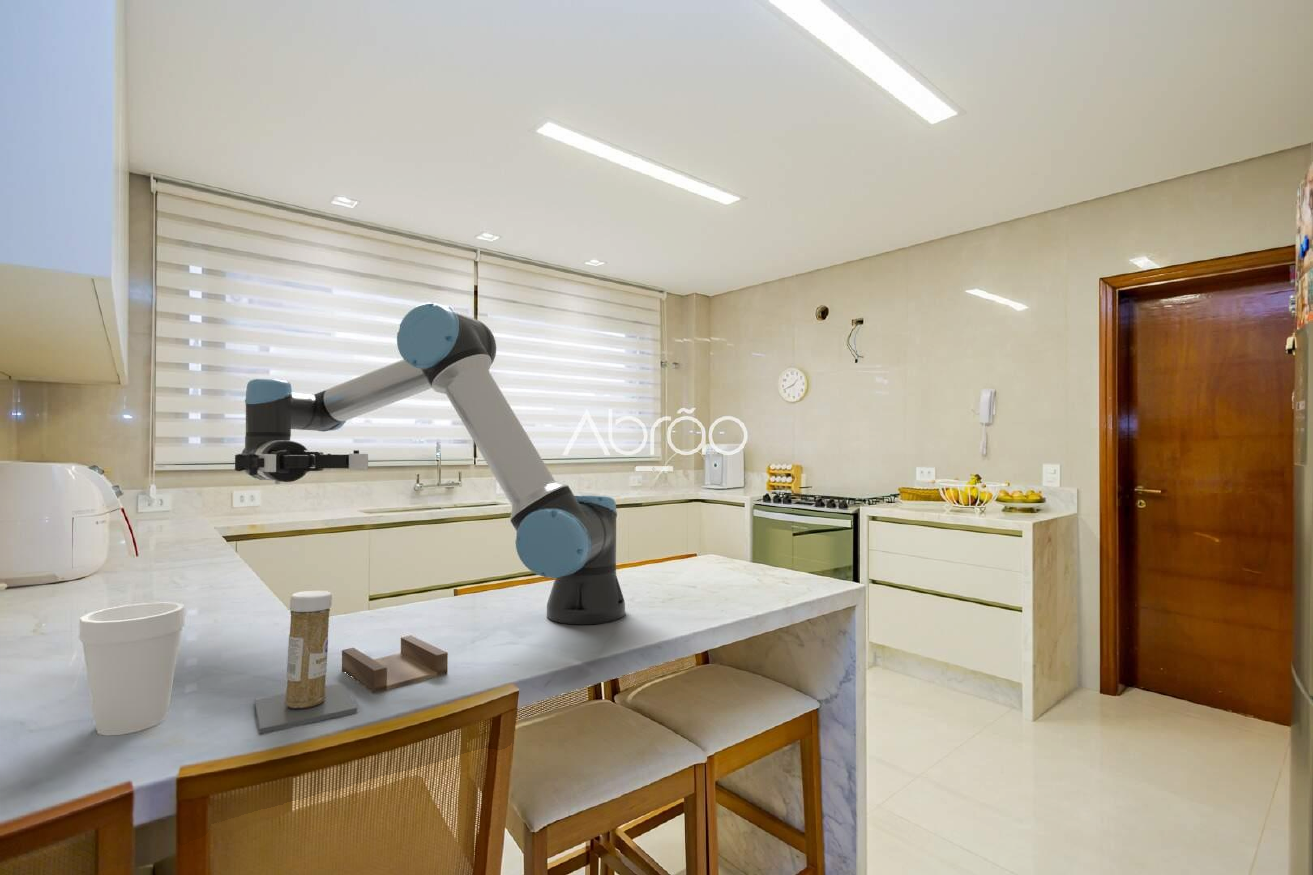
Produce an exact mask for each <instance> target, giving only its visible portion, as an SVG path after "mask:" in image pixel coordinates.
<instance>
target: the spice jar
mask: <svg viewBox="0 0 1313 875" xmlns="http://www.w3.org/2000/svg"><path fill="white" fill-rule="evenodd" d="M332 600H333V594H332V592H330V591H327V590H305V591H304V590H303V591H297V592H295V593H293V594H291V596H290V601H289V611H290V612H289V613H290V624H289V635H288V644H287V645H288V647H287V659H286V660H287V662H286V691H285V694H286V699H285V701H284V703H285V705H286V706H287V707H290V708H308V707H312V706H314V705H317V704H320V703H321V702H323V701H324V700H325V698H326V695H325V686H326V676H327V666H328V650H329V649H328V647H329V627H330V625H329V622H330V611H331V609H330V608H332V603H333V602H332Z"/></svg>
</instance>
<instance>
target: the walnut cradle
mask: <svg viewBox="0 0 1313 875" xmlns="http://www.w3.org/2000/svg"><path fill="white" fill-rule="evenodd" d="M448 656H449V654H448V652H447V651H444V650H442V649H441V648H438V647H437V646H436V645H432V644H431V643H428V642H426V641H424V640H422V639H419V638H417V637H415V636H413V635H407V636H402V637H400V653H397V654H396V653H395V654H391V655H386V656H384V657H378V658H372V657H370V656H368V655H366V654H365V653H363V652H361V651H360V650H358V649H357V648H355V647H350V648H346V649H342V650H341V671H342V672H343V673H344V672H346V675H347V674H348V675H349V676H348V675H347V676H348V677H350V676H352V677H353V678H354V679H355V680H354V679H353V678H352V679H353V680H354V681H355V682H357V681H358V682H359V683H358V682H357V683H358V684H360V685H362V686H363V687H364V686H365V688H366V689H367V690H368V691H370V690H371V691H370V692H371V693H373V694H374V693H375V694H377V693H381V692H384V691H385V690H386V691H389V690H392V689H396V688H400V686H401V687H403V686H408V685H411V684H414V683H418V682H422V681H427V680H429V679H430V680H431V679H434V678H437V677H441V676H444V675H448V673H449V672H448V669H449V668H448V660H449V659H448ZM388 689H389V690H388ZM386 691H385V692H386Z"/></svg>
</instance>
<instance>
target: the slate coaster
mask: <svg viewBox="0 0 1313 875" xmlns="http://www.w3.org/2000/svg"><path fill="white" fill-rule="evenodd" d="M325 695H326V698H325V700H324V701H323V702H321V703H320V704H317V705H314V706H312V707H308V708H290V707H287V706H286V705H285V703H284V701H285V699H286V693H283V694H280V695H279V694H278V695H274V696H273V695H272V696H268V697H263V698H258V699H254V705H255V706H254V707H255V713H256V719H257V724H258V730H259V735H261V734H267V733H270V732H276V731H280V730H286V729H289V728H292V727H293V728H294V727H299V726H303V725H306V724H307V725H308V724H312V723H315V722H316V723H317V722H320V721H321V722H322V721H325V719H326V720H330V719H334V718H339V717H343V716H348V715H353V714H357V713H358V707H357V705H356V704H355V702H354V700H353V697H351V695H350V693H349V691H348V689H347V687H346V686H345V684H344V682H341V683H335V684H330V685H325Z"/></svg>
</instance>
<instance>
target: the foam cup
mask: <svg viewBox="0 0 1313 875" xmlns="http://www.w3.org/2000/svg"><path fill="white" fill-rule="evenodd" d="M185 607H186V606H185V605H184V604H183V603H181V602H173V601H157V602H155V601H154V602H143V603H135V604H126V605H125V604H124V605H119V606H114V607H113V606H112V607H109V608H103V609H100V610H95V611H92V612H88V613H86V614H84V615H82V616H81V617H79V636H78V637H79V638H78V640H80V642H81V643H82V649H83V650H82V651H83V655H84V656H83V657H84V661H85V669H86V674H87V682H88V688H89V694H90V699H91V707H92V713H93V720H94V725H95V727H96V729H95V730H96V732H97V734H98V735H102V736H117V735H118V736H121V735H126V734H130V733H132V734H133V733H137V732H139V731H143V730H146V729H149V728H152V727H154V726H156V725H158V724H160V723H162V722H164V720H165V719H166V718H167V716H168V712H169V707H170V702H171V701H170V700H171V694H172V689H173V684H174V678H175V672H176V666H177V662H178V660H177V659H178V655H179V648H180V642H181V635H182V630H183V627H184V626H185V625H186V624H185V623H186V622H185V618H186V613H185V612H186V611H185V610H186V608H185Z"/></svg>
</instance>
